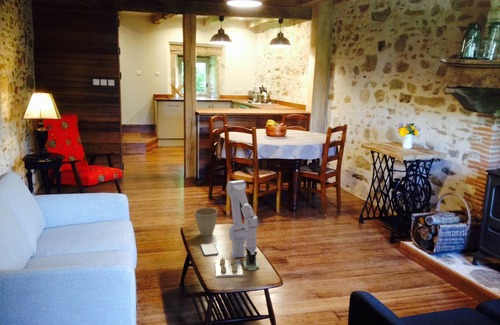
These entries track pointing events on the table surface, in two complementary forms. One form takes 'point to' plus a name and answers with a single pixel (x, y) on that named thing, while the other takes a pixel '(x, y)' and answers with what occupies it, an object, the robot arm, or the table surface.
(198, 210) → the plant pot
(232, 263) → the plate
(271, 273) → the table surface
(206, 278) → the table surface
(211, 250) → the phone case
